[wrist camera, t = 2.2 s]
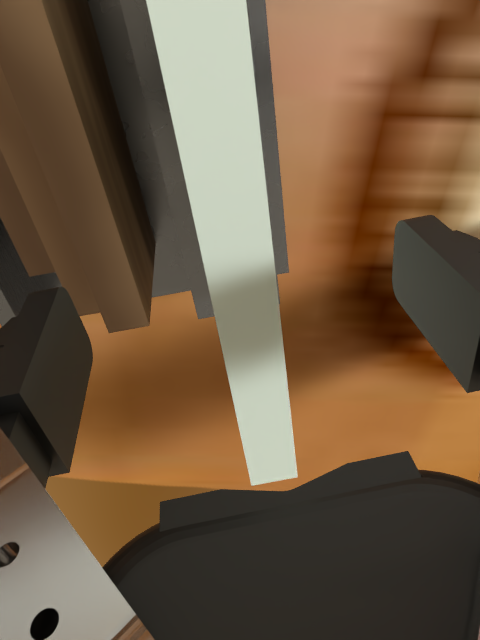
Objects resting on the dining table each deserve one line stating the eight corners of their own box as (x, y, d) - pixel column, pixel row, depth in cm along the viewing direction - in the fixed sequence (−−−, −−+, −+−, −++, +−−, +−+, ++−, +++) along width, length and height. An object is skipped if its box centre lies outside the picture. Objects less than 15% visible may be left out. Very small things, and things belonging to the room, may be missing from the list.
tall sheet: (187, -75, 20) (219, -245, 6) (238, 242, 30) (297, 477, 15) (152, -69, 20) (97, -224, 6) (214, 246, 30) (251, 485, 15)
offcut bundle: (79, -27, 21) (29, -37, 14) (155, 243, 29) (149, 325, 22) (-49, -4, 21) (-168, -3, 14) (64, 259, 29) (28, 347, 22)
